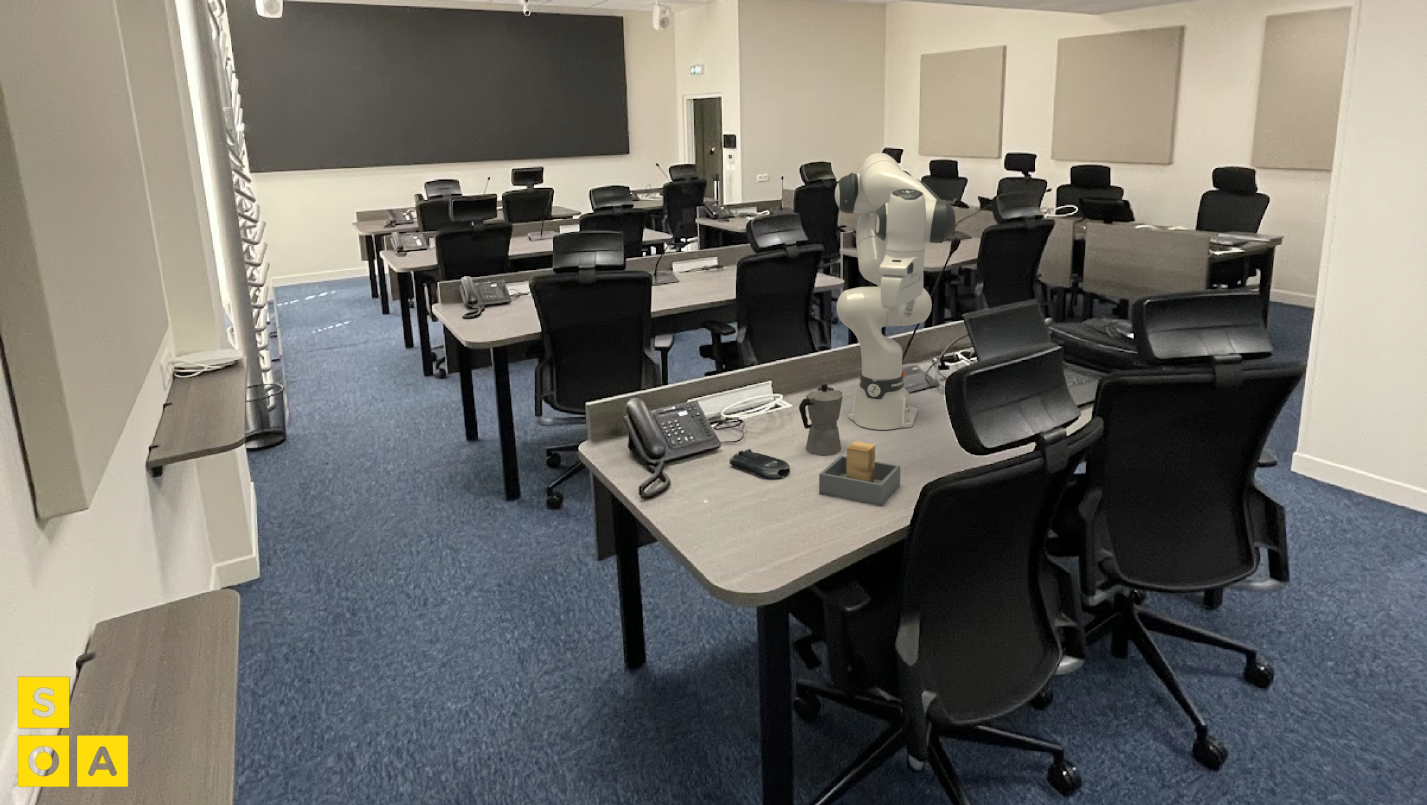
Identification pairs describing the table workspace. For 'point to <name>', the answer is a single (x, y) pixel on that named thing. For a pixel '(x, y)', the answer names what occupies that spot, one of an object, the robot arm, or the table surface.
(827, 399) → the coffeepot
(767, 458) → the electronic device
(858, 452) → the oak block
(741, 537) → the table surface
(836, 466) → the desk bin
